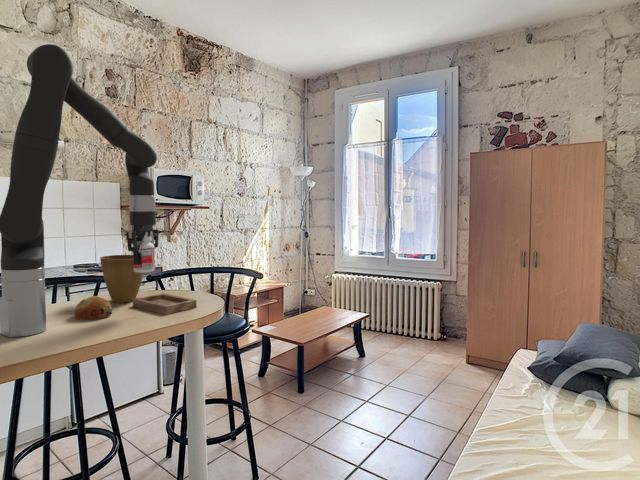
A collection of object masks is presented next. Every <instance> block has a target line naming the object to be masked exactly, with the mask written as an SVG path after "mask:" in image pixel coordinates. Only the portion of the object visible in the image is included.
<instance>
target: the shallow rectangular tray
mask: <svg viewBox="0 0 640 480" xmlns="http://www.w3.org/2000/svg"><path fill="white" fill-rule="evenodd" d="M132 306H133V307H134V308H139V309H143V310H146V311H150V312H154V313H158V314H162V315H166V316H167V315H171V314H173V313H179V312H183V311H187V310H191V308H192V309H196V308H197V300H196V299H193V298H188V297H182V296H179V295H178V296H177V295H173V294H169V293H165V292H164V293H163V292H162V293H157V294H153V295H147V296H142V297H136V298H135V299H133V301H132ZM195 307H196V308H195Z"/></svg>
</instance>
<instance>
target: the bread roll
mask: <svg viewBox="0 0 640 480" xmlns="http://www.w3.org/2000/svg"><path fill="white" fill-rule="evenodd" d="M113 311H114V310H113V305H112V304H111V302H109V301H108V300H107V299H106V298H104V297H101V296H99V295H93V296H90V297H87V298H86V297H85V298H84V299H82V300H81V301H79V302H78V304H76V307H75V308H74V317H75V319H77V320H83V321H95V320H101V319H105V318H109V317H111V315H112V314H113Z"/></svg>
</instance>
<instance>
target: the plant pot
mask: <svg viewBox="0 0 640 480" xmlns="http://www.w3.org/2000/svg"><path fill="white" fill-rule="evenodd" d="M99 261H100V266H101V271H102V275H103V279H104V283H105V285H106V288H107V289H106V290H107V292H108V294H109V297H110V299H111V301H112V302H113V303H115V304H116V303H117V304H118V303H120V304H122V303H123V304H124V303H130V302H133V299H135V298H137V296H138V293H139V291H140V287H141V284H142V282H143V277H144V274H145V273H138V272H134V262H133V254H111V255H104V256H100V257H99Z"/></svg>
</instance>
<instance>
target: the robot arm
mask: <svg viewBox="0 0 640 480" xmlns="http://www.w3.org/2000/svg"><path fill="white" fill-rule="evenodd" d="M26 68H27V71H28V73H29V74H30V76H31V81H30V88H29V89H30V90H29V93H28V98H27V100H26V103H25V104H24V105H25V106H24V107H23V110H22V112H21V115H20V116H19V120H18V123H17V125H16V126H17V127H16V129H15V134H14V139H13V143H12V144H13V145H12V151H11V157H10V158H11V160H10V172H9V173H10V174H9V175H10V176H9V186H8V190H7V194H6V197H5V200H4V203H3V207H2V209H1V212H0V239H1V240H0V241H1V242H0V243H1V244H0V246H1V251H0V253H1V254H0V277H1V278H0V279H1V296H0V334H1V335H3V336H4V337H7V338H16V337H18V338H19V337H26V336H31V335H36V334H37V335H38V334H40V333H42V332H44V331H46V330H47V313H46V312H47V310H46V309H47V307H46V284H45V283H46V280H45V279H46V278H45V276H46V275H45V274H46V273H45V226H44V220H43V207H44V206H43V205H44V196H45V191H46V187H47V185H48V182H49V179H50V178H51V177H50V176H51V174H52V171H53V170H54V169H53V168H54V165H55V162H56V157H57V152H58V147H59V140H60V133H61V126H62V125H61V124H62V117H63V116H62V115H63V107H64V103H66V104H67V105H68V106H69V107H71V109H73V110H74V111H75V112H76V113H77V114H79V115H80V116H81V117H82V118H83V119H84V120H85V121H87V123H88V124H89V125H91V126H92V127H93V128H94V129H95V130H96V131H97V132H98V134H100V135H101V136H102V137H103V138H104V139H105V140H106V141H107V142H108V143H109V144H110V145H112V146H113V147H114V148H118V149H121V150H122V151H123V152H124V153H125V157H124V162H125V168H126V173H127V177H128V179H129V180H128V181H129V202H128V204H129V205H128V209H129V225H130V226H132V227H133V229H132V231H126V233H125V234H126V244H127V250H128V251H127V252H132V255H133V259H134V264H135V265H141V264H142V257H141V250H142V246H144V244H145V237H148V236H150V237H151V239H152V240H151V243H152V244H153V245H154V251H155V250H156V248H158V247H159V233H160V231H159V229H158V228H157V229H154V228H153V226H156V224H157V216H156V214H157V212H156V210H157V208H156V200H155V199H156V198H155V182H154V179H153V178H152V177H150V174H149V173H150V172H149V168H152V167H153V166H155V164H156V163H157V161H158V160H157V159H158V157H157V152H156V150H155V149H154V148H153V147H152V145H151V144H149V143H148V142H147V141H146V140H144V138H142V137H141V136H139V135H138V134H136V132H134V131H132V130H131V129H130V128H129V127H128V126H127V125H126V124H125V122H123V121H122V120H121V118H120V117H118V115H116V114H115V113H114V112H113V111H112V110H110V109H109V108H108V107H107V106H106V105H104V104H103V103H101V101H99V100H97V99H96V98H95V97H93V96H92V95H91V94H89V93H88V92H87V91H86V90H85V89H84V88H83V87H82V86H81V85H80V84H79V83H78V82H77V81H76V80H75V79H74V77H73V73H74V64H73V61H72V59H71V57H70V55H69V53H68V52H67V51H66V50H65V49H63V48H62V47H60V45H56V44H50V43H47V44H42V45H39V46H38V47H35V49H33V51H32V52H31V53H30V54H29V55H28V58H27V60H26ZM137 241H141V242H137ZM137 245H139V247H137Z"/></svg>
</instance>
